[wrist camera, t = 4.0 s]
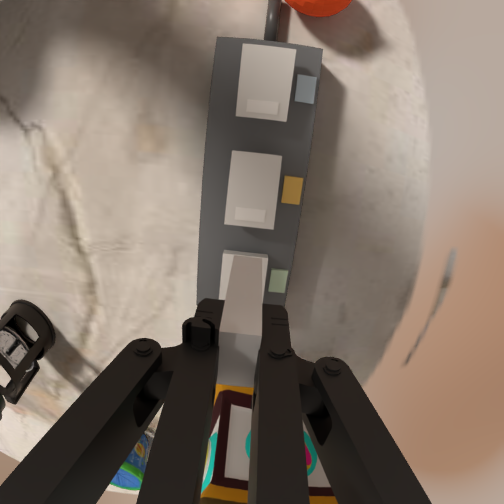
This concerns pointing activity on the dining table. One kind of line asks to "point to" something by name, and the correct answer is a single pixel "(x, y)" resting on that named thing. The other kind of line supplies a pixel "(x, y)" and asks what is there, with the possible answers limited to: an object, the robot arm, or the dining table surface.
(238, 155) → the plate
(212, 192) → the power strip
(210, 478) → the decorative lantern
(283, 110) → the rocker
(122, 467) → the snack cup
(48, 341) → the french press
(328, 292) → the dining table surface
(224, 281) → the rocker
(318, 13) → the clementine
